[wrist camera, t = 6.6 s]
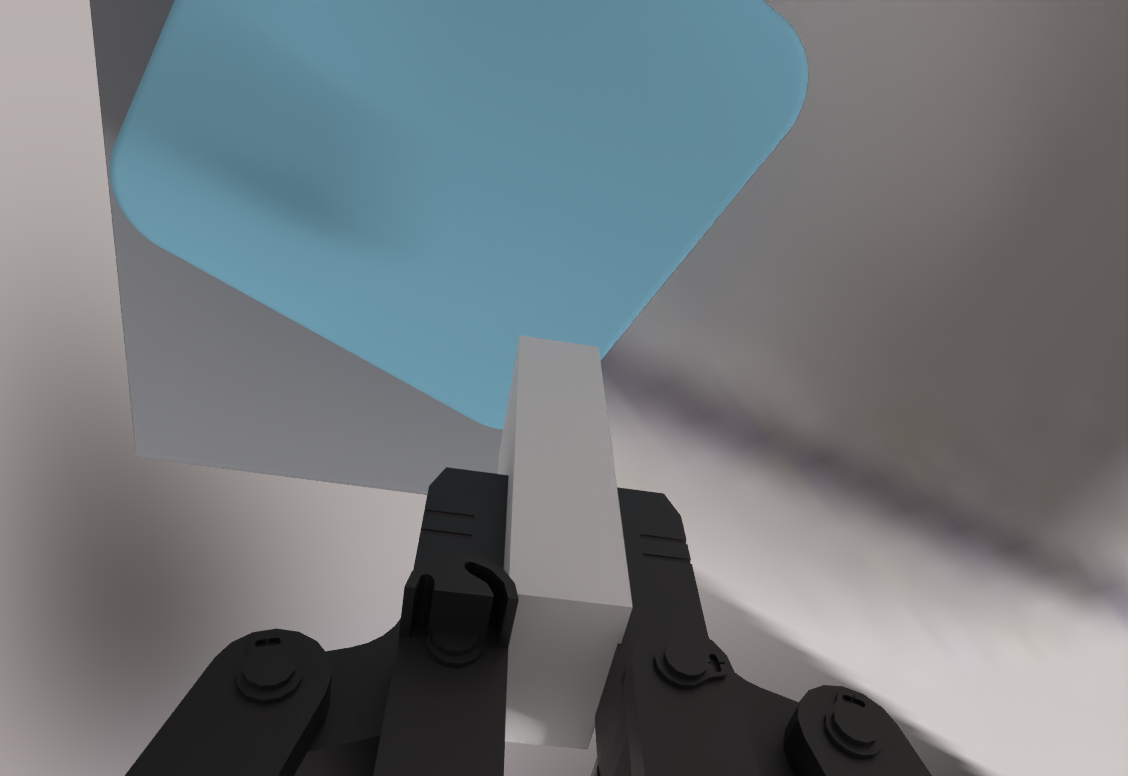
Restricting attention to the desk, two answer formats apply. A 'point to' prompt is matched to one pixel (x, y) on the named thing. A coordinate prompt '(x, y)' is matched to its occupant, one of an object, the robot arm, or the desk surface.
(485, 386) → the data package
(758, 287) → the desk surface
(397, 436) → the mat
